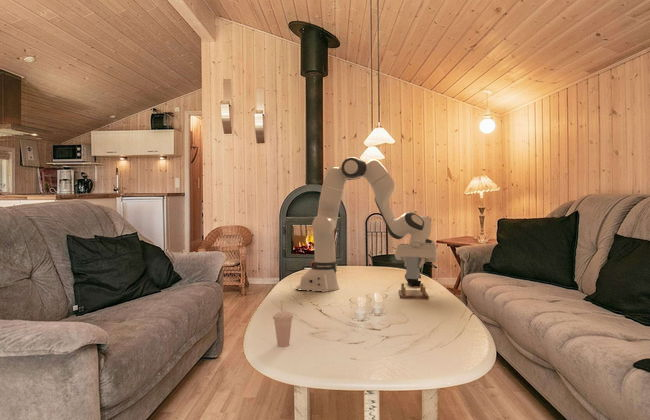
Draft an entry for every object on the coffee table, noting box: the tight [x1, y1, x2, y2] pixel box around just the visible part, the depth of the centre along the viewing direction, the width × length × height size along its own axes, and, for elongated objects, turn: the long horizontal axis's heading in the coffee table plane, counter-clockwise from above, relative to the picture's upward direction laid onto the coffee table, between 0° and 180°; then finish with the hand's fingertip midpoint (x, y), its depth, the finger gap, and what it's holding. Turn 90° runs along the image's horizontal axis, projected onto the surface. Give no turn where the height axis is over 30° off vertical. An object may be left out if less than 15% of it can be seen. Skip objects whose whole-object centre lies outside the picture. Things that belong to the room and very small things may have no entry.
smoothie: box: [272, 300, 294, 348], centre depth 135 cm, size 6×6×14 cm
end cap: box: [404, 273, 422, 288], centre depth 227 cm, size 10×7×7 cm
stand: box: [398, 282, 430, 300], centre depth 202 cm, size 13×13×5 cm
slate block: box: [405, 257, 421, 280], centre depth 202 cm, size 5×5×10 cm
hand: (412, 266), depth 201 cm, fingers closed on slate block, 5 cm apart
